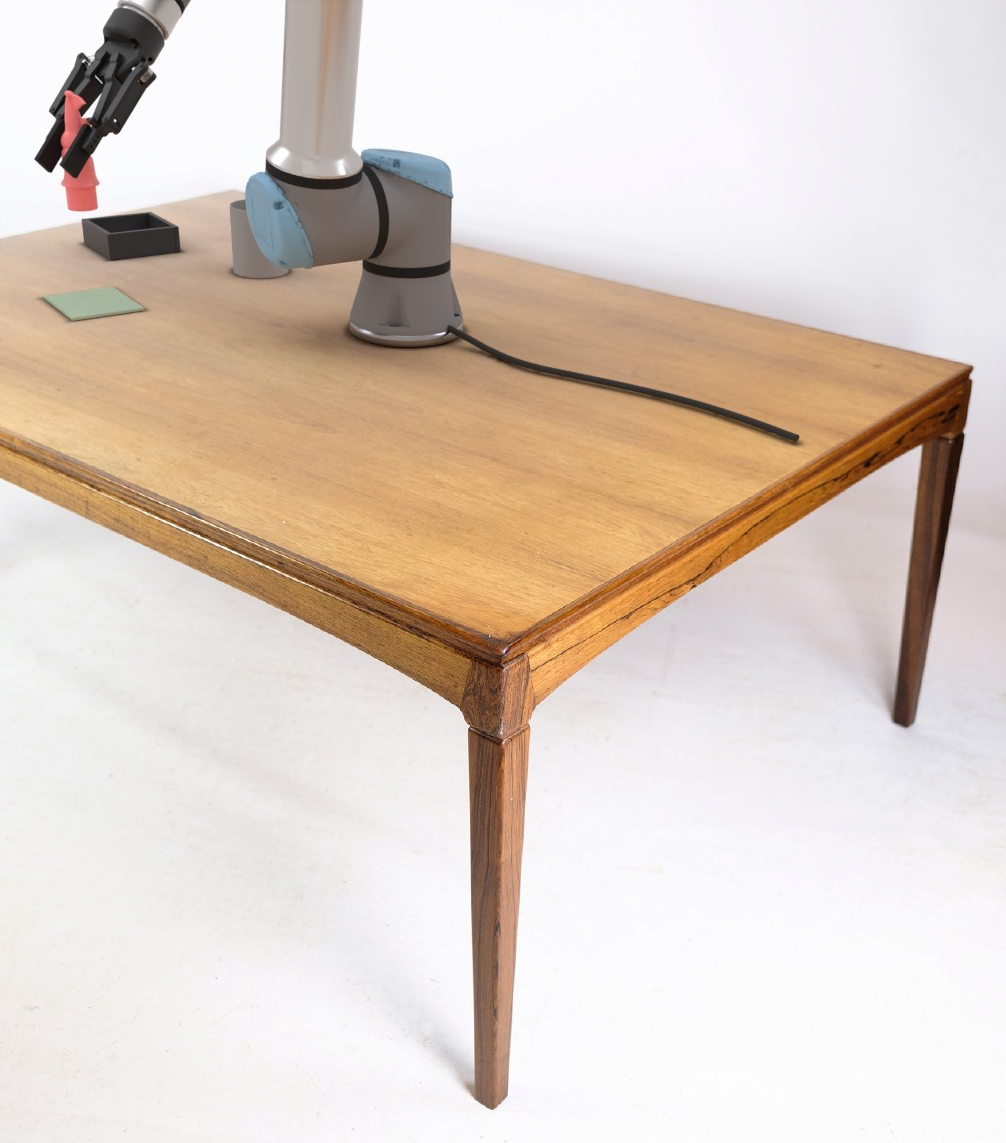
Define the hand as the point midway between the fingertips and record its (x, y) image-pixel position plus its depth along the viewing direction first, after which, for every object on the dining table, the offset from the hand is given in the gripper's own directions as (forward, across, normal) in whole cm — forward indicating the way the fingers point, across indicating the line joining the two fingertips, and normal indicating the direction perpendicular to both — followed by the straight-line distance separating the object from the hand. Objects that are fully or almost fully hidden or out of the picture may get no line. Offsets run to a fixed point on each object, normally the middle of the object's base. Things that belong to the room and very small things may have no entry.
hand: (55, 168), depth 169 cm
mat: (+11, 0, -16) cm, 19 cm away
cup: (-9, -5, -36) cm, 37 cm away
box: (-6, +20, -33) cm, 38 cm away
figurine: (+1, 0, -7) cm, 7 cm away
